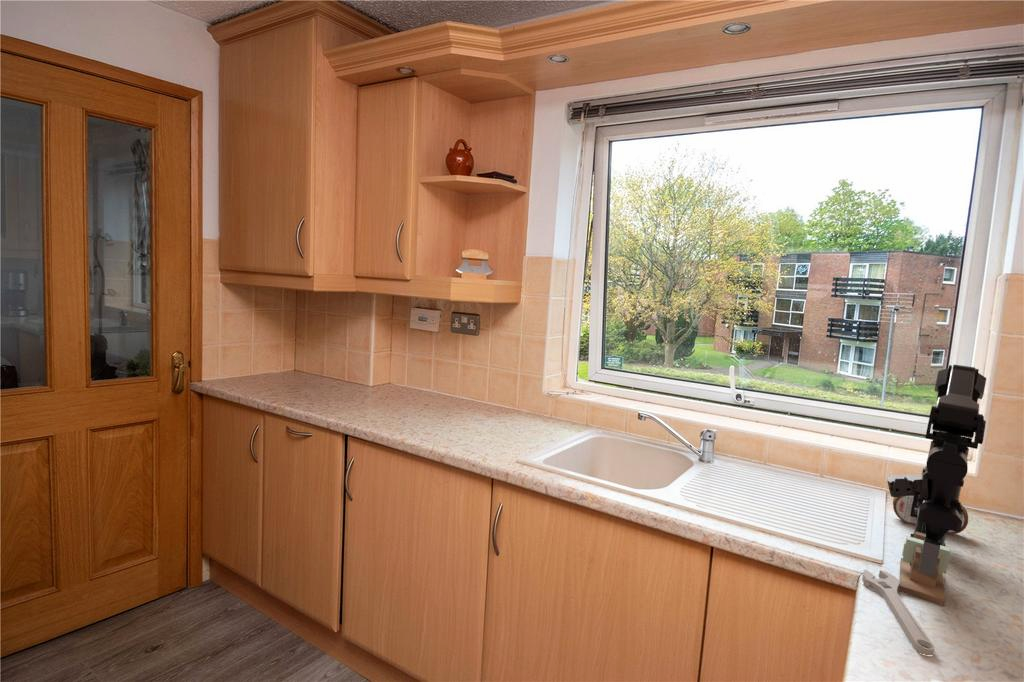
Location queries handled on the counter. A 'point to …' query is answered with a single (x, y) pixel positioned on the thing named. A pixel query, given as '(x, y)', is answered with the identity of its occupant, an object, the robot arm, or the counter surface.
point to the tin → (904, 506)
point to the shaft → (929, 557)
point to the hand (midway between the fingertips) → (929, 546)
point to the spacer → (913, 542)
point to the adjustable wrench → (899, 609)
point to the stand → (921, 579)
